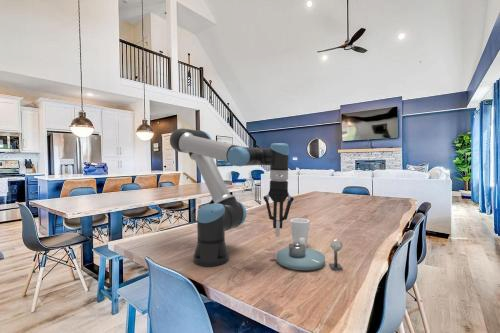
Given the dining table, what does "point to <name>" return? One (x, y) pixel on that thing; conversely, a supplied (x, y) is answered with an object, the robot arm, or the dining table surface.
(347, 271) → the dining table surface
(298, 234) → the foam cup
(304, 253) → the cover
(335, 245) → the dial stand
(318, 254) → the turntable
